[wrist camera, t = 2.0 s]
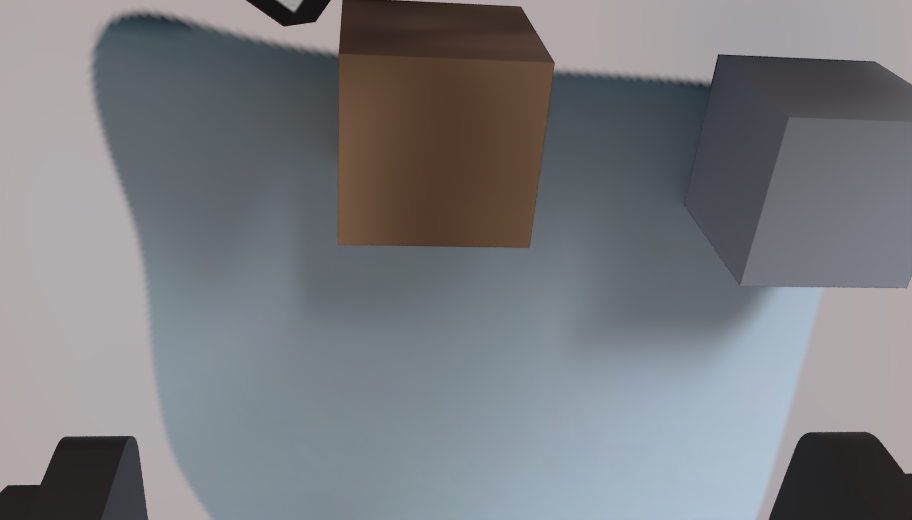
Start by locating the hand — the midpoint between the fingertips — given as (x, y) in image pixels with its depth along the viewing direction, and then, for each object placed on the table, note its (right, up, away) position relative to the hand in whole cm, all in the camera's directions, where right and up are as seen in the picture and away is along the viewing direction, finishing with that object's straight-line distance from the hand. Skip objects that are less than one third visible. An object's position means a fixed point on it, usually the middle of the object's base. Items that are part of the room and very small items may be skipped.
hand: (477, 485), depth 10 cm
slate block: (+9, +6, +14) cm, 18 cm away
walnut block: (-1, +7, +12) cm, 14 cm away
